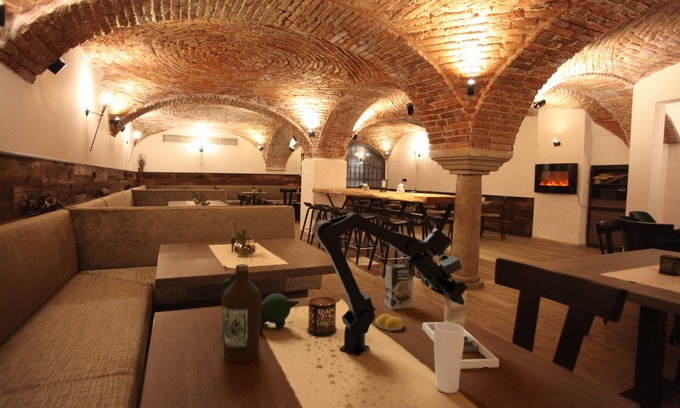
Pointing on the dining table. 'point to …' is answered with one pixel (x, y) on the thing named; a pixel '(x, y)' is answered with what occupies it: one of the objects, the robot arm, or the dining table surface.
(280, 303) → the toy figurine
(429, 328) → the box
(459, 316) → the maple block
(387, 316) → the bread roll
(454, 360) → the drinking glass
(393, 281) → the white cardboard box
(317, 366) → the dining table surface
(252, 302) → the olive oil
